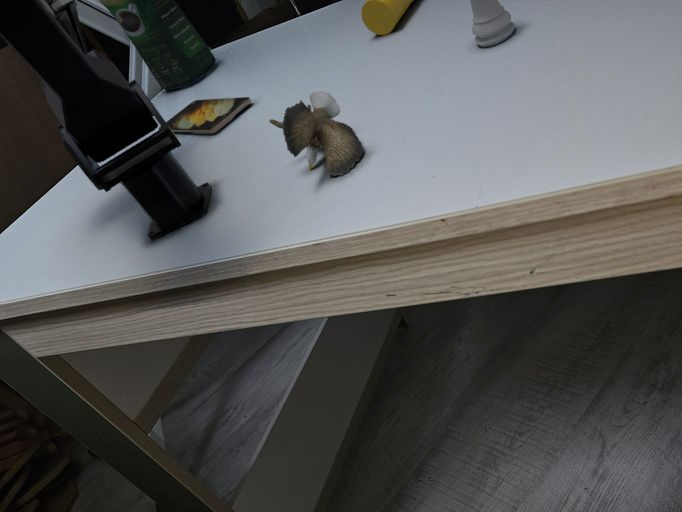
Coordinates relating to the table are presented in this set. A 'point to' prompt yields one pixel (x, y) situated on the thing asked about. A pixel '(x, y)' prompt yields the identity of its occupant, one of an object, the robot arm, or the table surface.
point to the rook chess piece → (490, 22)
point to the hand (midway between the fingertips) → (91, 84)
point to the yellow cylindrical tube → (383, 14)
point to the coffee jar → (164, 40)
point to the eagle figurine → (320, 133)
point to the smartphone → (207, 115)
